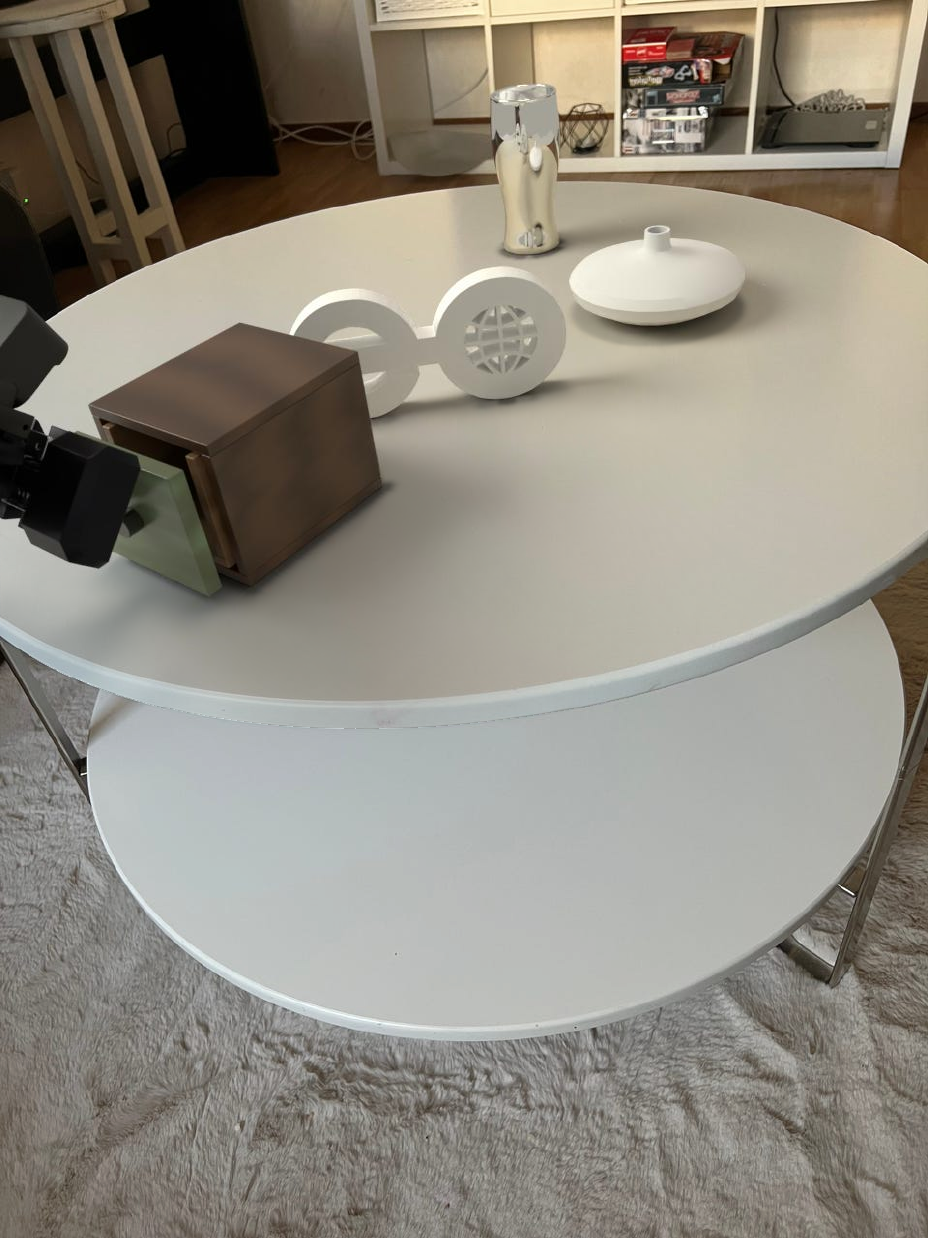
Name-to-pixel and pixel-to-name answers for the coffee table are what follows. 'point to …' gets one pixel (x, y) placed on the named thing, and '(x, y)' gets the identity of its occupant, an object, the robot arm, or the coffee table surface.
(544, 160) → the beer glass
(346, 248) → the coffee table surface
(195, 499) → the drawer
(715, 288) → the vase
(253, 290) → the coffee table surface
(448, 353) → the white flat cutout piece
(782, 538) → the coffee table surface
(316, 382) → the cabinet
